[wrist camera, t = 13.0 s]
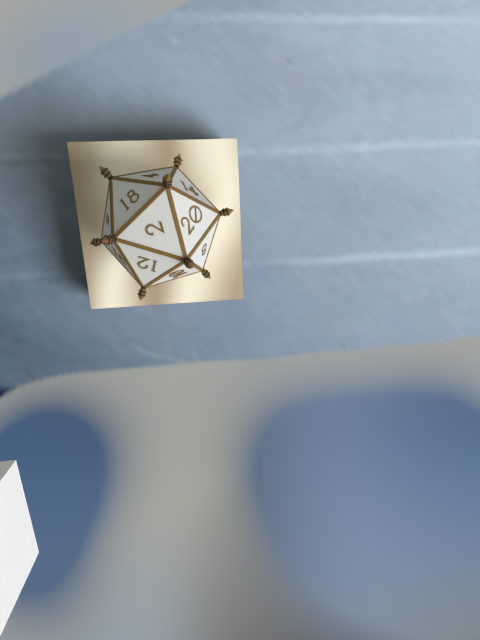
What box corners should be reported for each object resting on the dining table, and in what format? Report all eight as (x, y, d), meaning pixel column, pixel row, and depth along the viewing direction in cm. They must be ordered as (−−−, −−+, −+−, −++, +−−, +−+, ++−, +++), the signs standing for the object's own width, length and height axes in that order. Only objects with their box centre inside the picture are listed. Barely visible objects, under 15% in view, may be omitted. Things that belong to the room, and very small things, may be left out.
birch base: (102, 298, 34) (91, 308, 30) (82, 151, 31) (66, 142, 27) (237, 290, 35) (243, 298, 31) (231, 148, 32) (237, 138, 28)
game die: (162, 201, 32) (179, 94, 23) (231, 274, 31) (275, 194, 23) (67, 254, 28) (43, 150, 19) (143, 340, 27) (155, 273, 18)
